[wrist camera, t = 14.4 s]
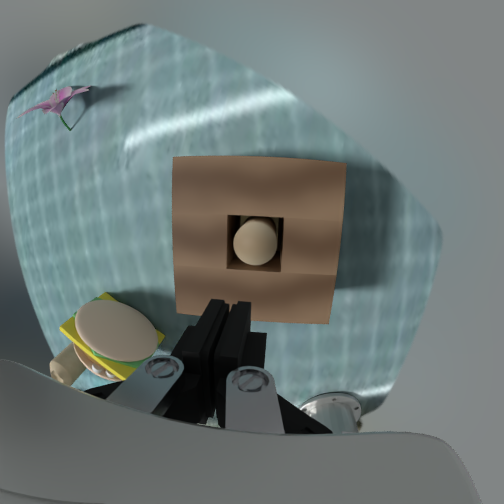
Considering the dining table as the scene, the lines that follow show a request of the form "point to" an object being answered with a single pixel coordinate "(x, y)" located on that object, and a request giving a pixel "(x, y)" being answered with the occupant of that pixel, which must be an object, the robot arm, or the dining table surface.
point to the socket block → (257, 204)
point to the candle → (67, 366)
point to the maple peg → (256, 240)
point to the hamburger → (111, 337)
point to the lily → (57, 102)
